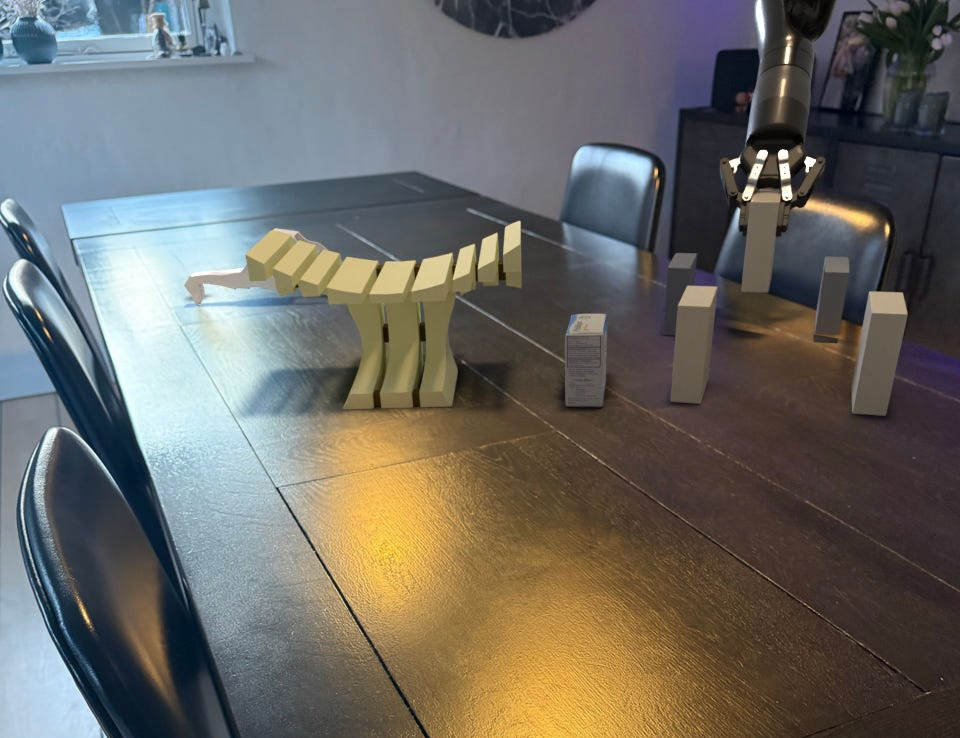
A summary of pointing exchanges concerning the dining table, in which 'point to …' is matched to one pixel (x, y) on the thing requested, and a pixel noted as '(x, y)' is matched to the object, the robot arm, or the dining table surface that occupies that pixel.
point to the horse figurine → (236, 275)
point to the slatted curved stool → (392, 309)
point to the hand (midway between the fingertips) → (762, 232)
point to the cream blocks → (871, 364)
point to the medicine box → (585, 360)
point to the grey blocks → (827, 307)
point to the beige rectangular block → (760, 241)
